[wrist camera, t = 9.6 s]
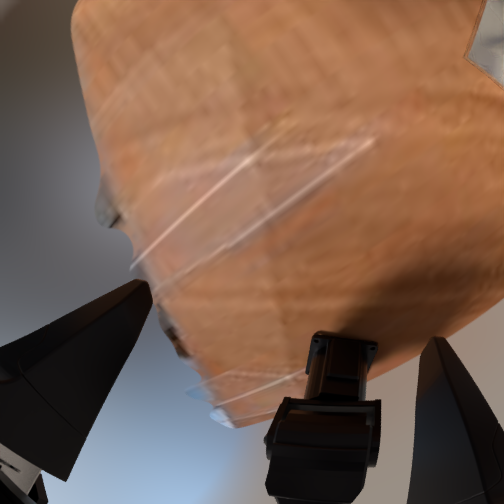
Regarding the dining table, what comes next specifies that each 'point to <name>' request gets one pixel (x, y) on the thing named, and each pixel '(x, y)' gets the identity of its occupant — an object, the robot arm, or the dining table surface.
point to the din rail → (488, 41)
